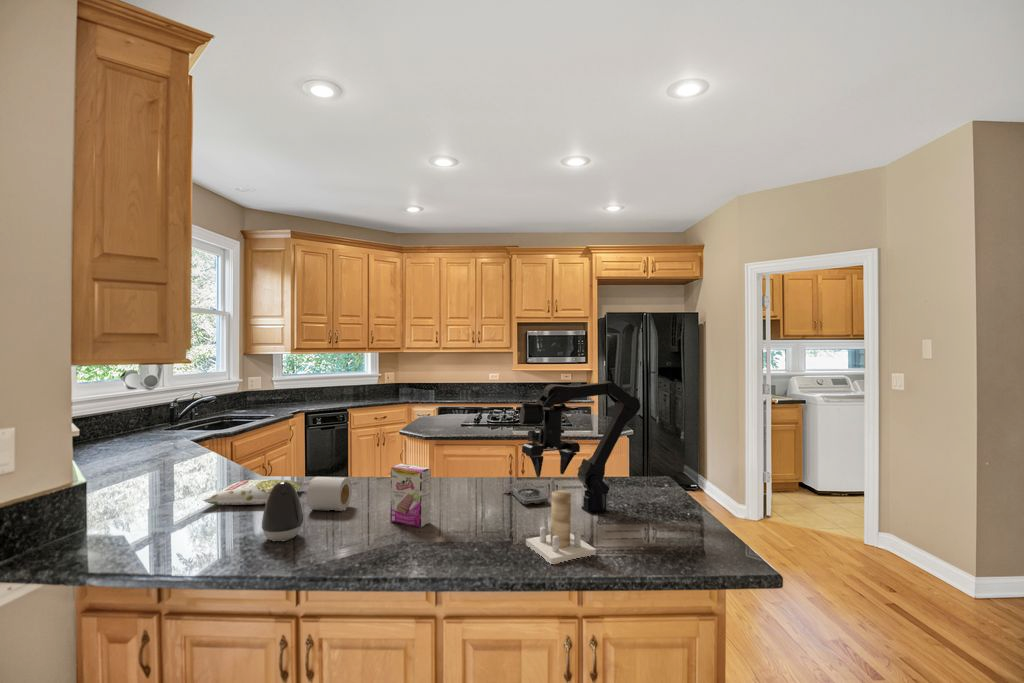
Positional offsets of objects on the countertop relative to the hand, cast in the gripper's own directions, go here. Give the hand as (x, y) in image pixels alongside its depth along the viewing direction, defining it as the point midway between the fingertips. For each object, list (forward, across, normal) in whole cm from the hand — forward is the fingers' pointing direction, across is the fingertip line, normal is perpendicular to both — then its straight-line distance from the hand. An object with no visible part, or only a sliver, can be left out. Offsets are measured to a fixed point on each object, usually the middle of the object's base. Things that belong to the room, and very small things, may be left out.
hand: (550, 475), depth 155 cm
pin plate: (+12, +13, +23) cm, 29 cm away
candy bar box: (+14, +39, -15) cm, 44 cm away
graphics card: (+13, -2, -16) cm, 21 cm away
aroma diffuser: (+16, +72, -22) cm, 77 cm away
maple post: (+11, +13, +23) cm, 29 cm away
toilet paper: (+15, +56, -39) cm, 70 cm away
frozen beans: (+16, +75, -62) cm, 98 cm away
